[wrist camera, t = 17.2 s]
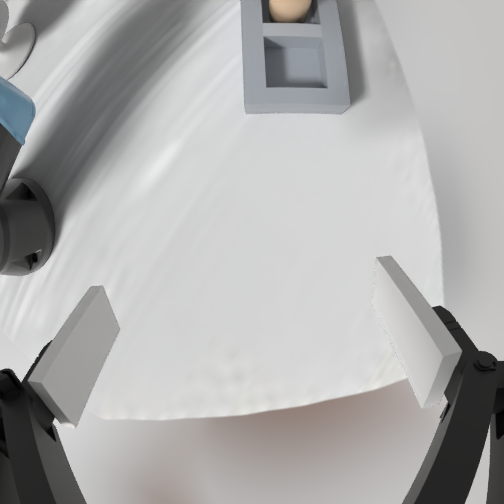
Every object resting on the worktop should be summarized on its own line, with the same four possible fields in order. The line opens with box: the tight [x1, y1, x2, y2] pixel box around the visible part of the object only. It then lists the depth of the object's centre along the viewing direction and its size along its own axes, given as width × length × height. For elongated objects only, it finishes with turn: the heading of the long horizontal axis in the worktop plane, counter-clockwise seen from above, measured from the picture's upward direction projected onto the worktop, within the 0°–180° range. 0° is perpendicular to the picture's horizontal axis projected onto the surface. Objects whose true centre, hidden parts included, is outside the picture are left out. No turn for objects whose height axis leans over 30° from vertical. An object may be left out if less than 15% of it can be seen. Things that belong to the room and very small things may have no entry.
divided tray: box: [241, 0, 350, 114], centre depth 32 cm, size 12×20×4 cm, turn 2°
